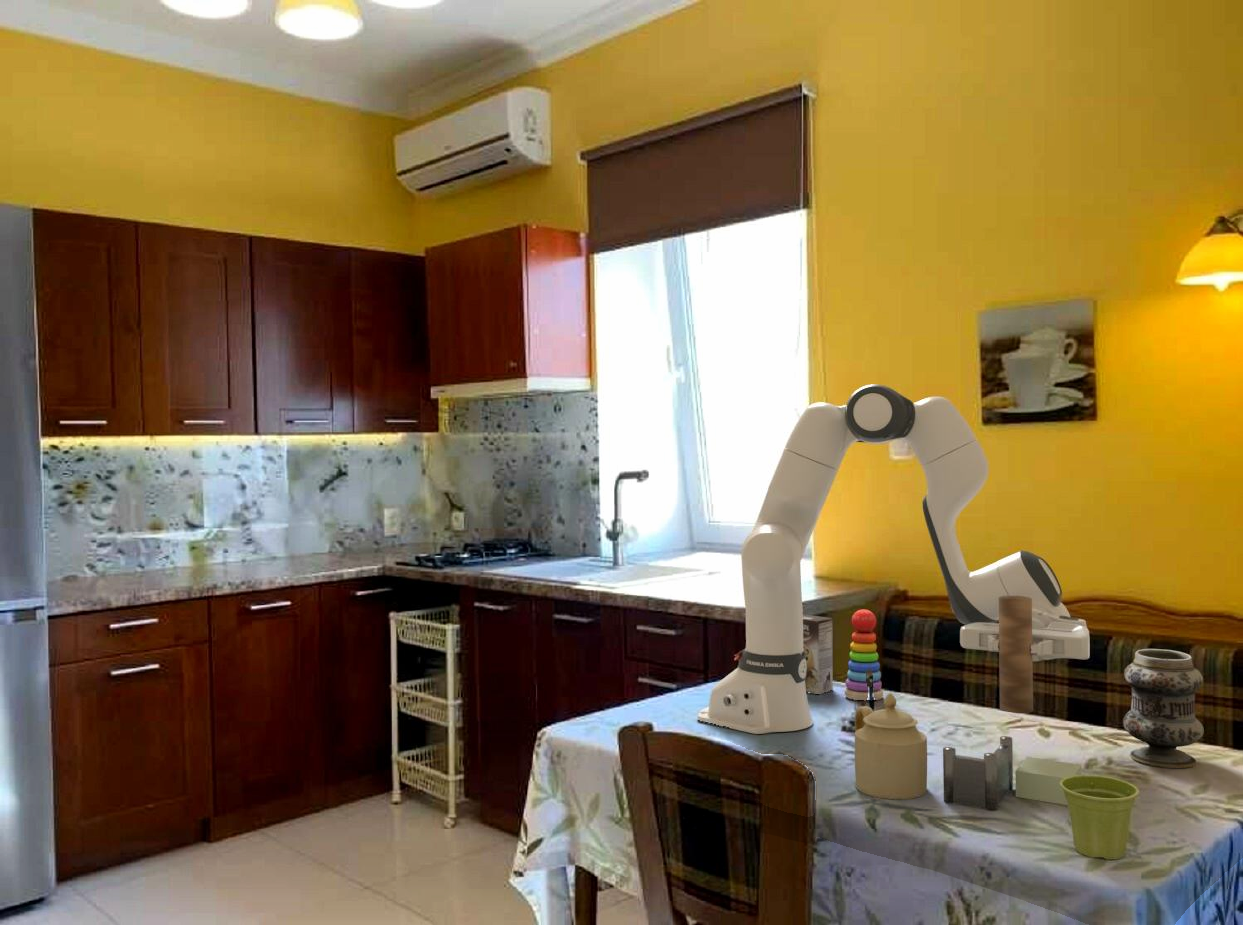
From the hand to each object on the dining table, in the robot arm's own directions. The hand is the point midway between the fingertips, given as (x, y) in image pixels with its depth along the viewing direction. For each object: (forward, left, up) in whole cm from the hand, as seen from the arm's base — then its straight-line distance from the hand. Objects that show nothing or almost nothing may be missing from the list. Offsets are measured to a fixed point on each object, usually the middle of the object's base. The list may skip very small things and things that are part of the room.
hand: (1014, 648), depth 165 cm
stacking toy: (-39, +38, -21) cm, 58 cm away
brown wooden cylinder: (0, +1, -10) cm, 10 cm away
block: (+6, -5, -21) cm, 22 cm away
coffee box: (-52, +39, -21) cm, 68 cm away
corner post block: (-3, -11, -21) cm, 24 cm away
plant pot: (+16, -25, -21) cm, 37 cm away
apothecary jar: (+19, +22, -21) cm, 36 cm away
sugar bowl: (-17, -14, -21) cm, 31 cm away
